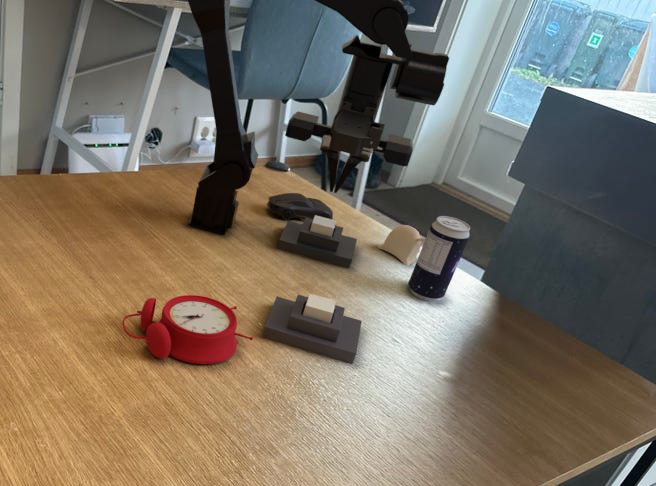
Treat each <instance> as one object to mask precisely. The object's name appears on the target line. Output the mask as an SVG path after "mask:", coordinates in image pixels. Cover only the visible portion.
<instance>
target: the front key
mask: <svg viewBox="0 0 656 486" xmlns="http://www.w3.org/2000/svg"><path fill="white" fill-rule="evenodd" d="M307 297H308V300H307V303H306V306H305V309H304V313H303V316H307V317H310V318H314V319H317V320H320V321H324V322H327V323H330V321H331V318H332V315H333V312H334V308H335V305H337V304H336V303H337V300H335V299H331V298H327V297H324V296H320V295H317V294H314V293H309V294H308V296H307Z"/></svg>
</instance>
